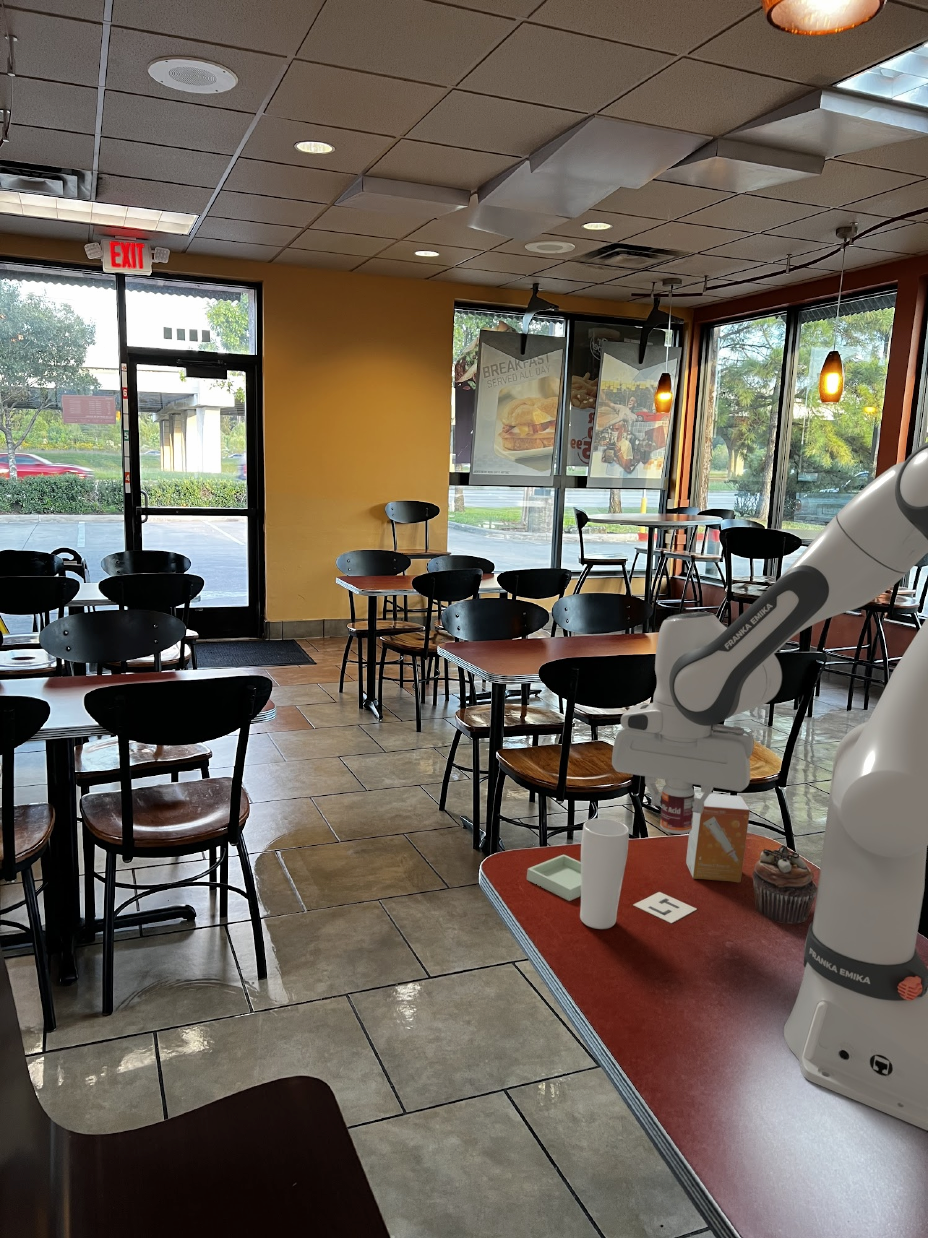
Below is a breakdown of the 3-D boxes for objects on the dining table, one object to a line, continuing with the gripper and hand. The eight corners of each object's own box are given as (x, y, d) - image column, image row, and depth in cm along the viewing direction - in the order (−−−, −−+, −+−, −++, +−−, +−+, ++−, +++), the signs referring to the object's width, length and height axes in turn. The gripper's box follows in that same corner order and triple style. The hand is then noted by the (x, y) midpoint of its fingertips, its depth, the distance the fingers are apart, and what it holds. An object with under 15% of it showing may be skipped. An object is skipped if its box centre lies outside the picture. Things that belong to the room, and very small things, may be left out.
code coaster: (697, 909, 142) (697, 908, 142) (671, 923, 137) (671, 922, 137) (659, 892, 147) (659, 891, 147) (633, 905, 142) (633, 904, 142)
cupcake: (792, 933, 137) (800, 870, 135) (736, 906, 144) (743, 846, 142) (826, 915, 143) (834, 855, 141) (771, 891, 150) (778, 833, 148)
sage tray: (605, 884, 149) (606, 874, 148) (569, 901, 142) (570, 889, 142) (562, 865, 155) (563, 854, 155) (526, 879, 149) (527, 868, 148)
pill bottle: (653, 827, 139) (656, 774, 138) (672, 820, 142) (675, 768, 141) (680, 837, 136) (683, 782, 134) (698, 829, 139) (701, 776, 138)
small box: (692, 880, 152) (700, 805, 150) (685, 863, 158) (692, 791, 156) (741, 883, 152) (750, 809, 150) (732, 866, 158) (741, 795, 156)
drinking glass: (619, 913, 140) (627, 820, 137) (622, 935, 133) (631, 838, 130) (574, 908, 140) (582, 815, 137) (575, 931, 134) (583, 834, 131)
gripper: (758, 723, 135) (751, 813, 137) (622, 706, 144) (618, 790, 146) (751, 734, 129) (744, 828, 131) (610, 715, 138) (606, 803, 140)
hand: (677, 808), depth 139 cm, fingers closed on pill bottle, 5 cm apart
